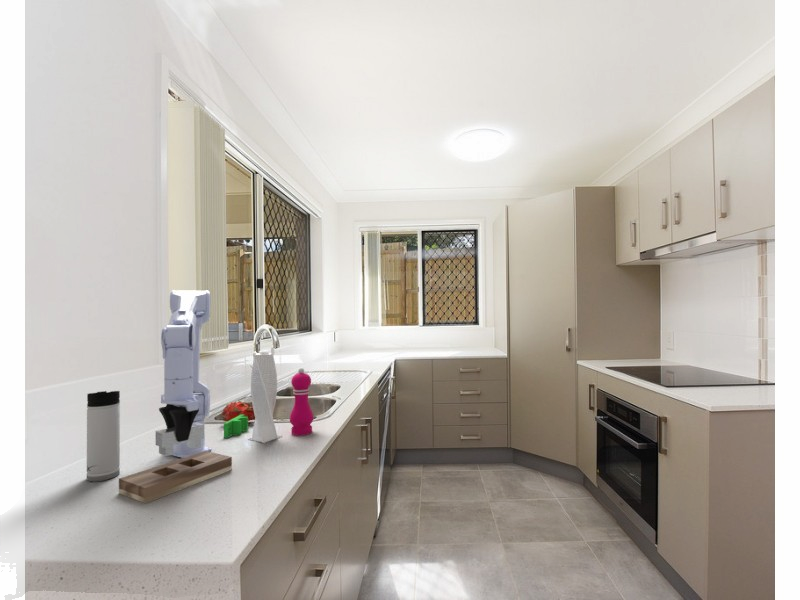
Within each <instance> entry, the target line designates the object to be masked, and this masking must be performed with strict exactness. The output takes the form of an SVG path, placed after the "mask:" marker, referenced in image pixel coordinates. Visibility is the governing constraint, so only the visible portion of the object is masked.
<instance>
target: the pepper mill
mask: <svg viewBox="0 0 800 600" xmlns="http://www.w3.org/2000/svg"><path fill="white" fill-rule="evenodd" d="M297 371H298V373H296V374H294V375H293V376H292V377H291V382H290V383H291V386H292V388H293V392H292V393H293V395H294V404H293V407H292V410H291V412H290V414H289V415H290V416H289V422H290V424H291V435H292V436H307V435H309V434H312V433H313V426H312V425H311V424H312V423H313V421H314V412H313V410H312V408H311V406H310V403H309V394H310V386H311V384H312V378H311V376H310V375H309V374H308V373H305V370H304V368H303V367H300V368H298V370H297Z"/></svg>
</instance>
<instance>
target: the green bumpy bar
mask: <svg viewBox="0 0 800 600" xmlns="http://www.w3.org/2000/svg"><path fill="white" fill-rule="evenodd" d="M248 423H249V421H248V417H244V414H241V415H239V416H237V417H235V418H233V419H231V420H229V421H227V422H223V438H224V439H228V438H230V437H231V436H242V433H243V432H248V431H249V424H248Z"/></svg>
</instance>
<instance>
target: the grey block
mask: <svg viewBox="0 0 800 600" xmlns="http://www.w3.org/2000/svg"><path fill="white" fill-rule="evenodd" d="M204 431H205V423H204V424H201V423H198V422H196V423H193V424H192V427H191V431H190V435H189V439H188V440H185V441H181V442H178V441H177V438H176V431H175V427H172V428H168V429H167V428H164V429H158V430H155V446H158V453H159V454H160V455H162V456H164V457H168V456H173V445H176V444H180V443H184V442H187V446H188V447H190V448H192V449H196V448H200V447H201V438H204Z"/></svg>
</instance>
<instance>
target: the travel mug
mask: <svg viewBox="0 0 800 600" xmlns="http://www.w3.org/2000/svg"><path fill="white" fill-rule="evenodd" d="M120 392H121V391H120V390H113V391H111V390H110V391H109V392H108V391H107V390H105V391H104V390H103V391H97V392H90V393H86V395H87V397H86V398H87V404H86V481H88V482H91V481H92V482H95V483H97V482H103V481H107V480H111V479H113V478H116V477H117V476H119V474H120V472H121V471H120V468H121V467H120V466H121V465H120V463H121V462H120V459H121V456H120V454H121V451H120V450H121V446H120V445H121V444H120V443H121V441H120V440H121V430H120V429H121V415H120V414H121V405H120V404H121V399H120V396H121V394H120Z"/></svg>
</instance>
